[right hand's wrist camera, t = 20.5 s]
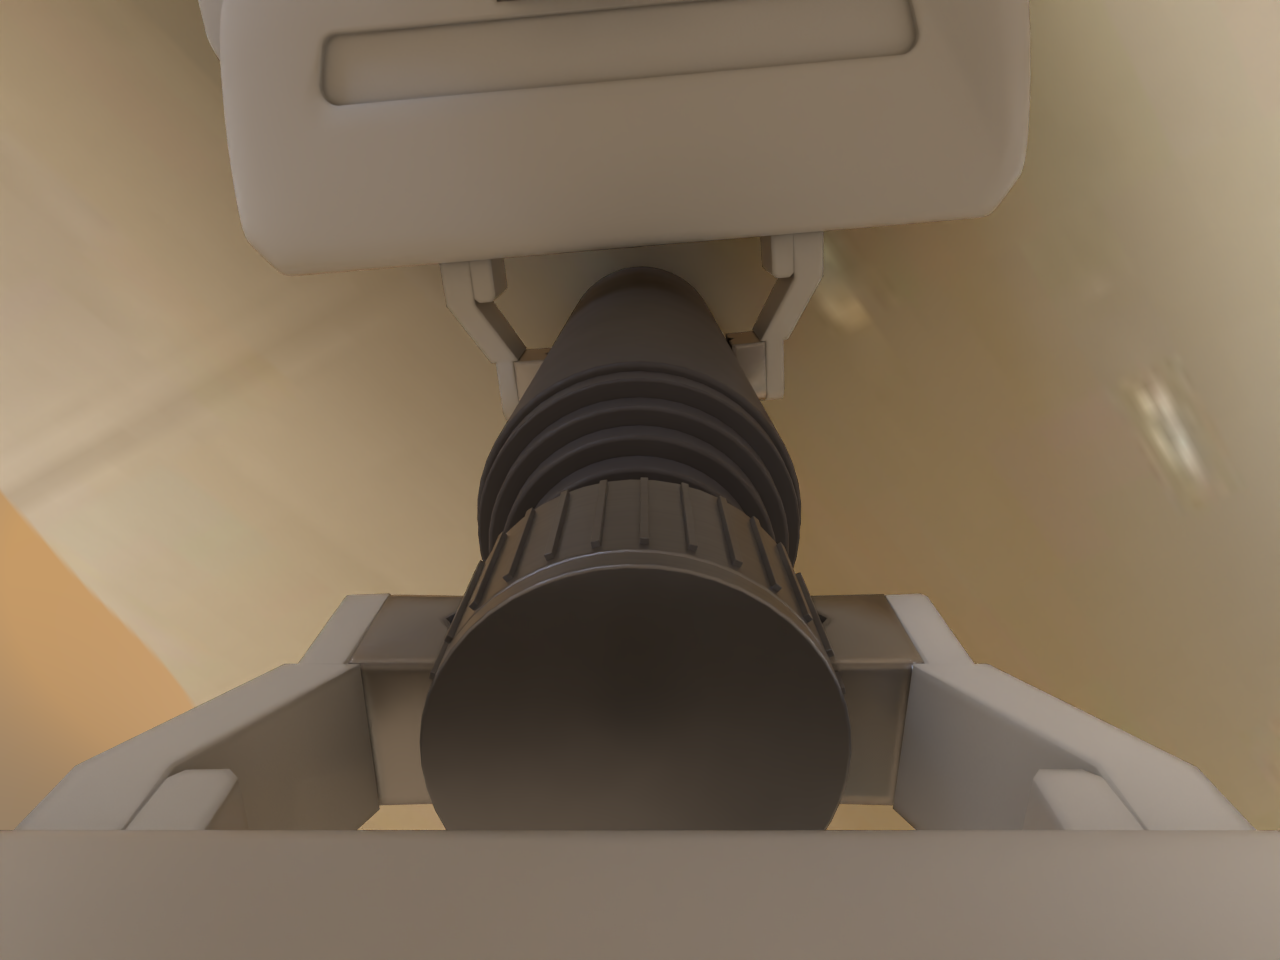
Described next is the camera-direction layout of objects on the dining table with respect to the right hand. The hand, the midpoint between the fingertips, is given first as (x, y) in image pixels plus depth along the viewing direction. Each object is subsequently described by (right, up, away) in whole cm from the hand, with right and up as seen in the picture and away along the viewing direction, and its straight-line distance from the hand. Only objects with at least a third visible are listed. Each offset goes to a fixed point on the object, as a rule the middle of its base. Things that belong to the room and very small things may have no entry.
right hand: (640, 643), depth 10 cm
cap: (0, -1, -2) cm, 2 cm away
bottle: (0, +7, +19) cm, 20 cm away
